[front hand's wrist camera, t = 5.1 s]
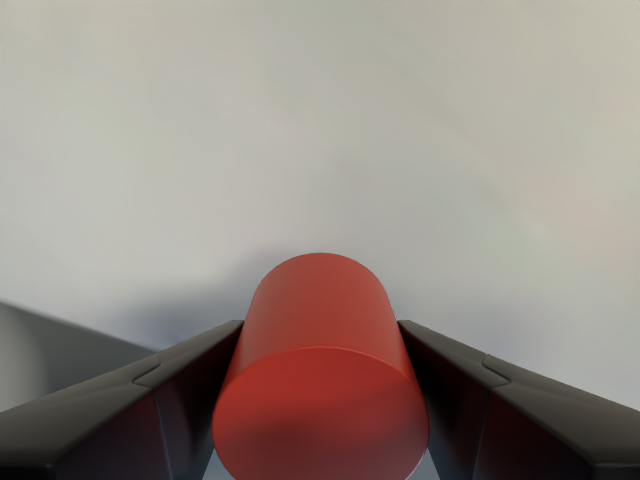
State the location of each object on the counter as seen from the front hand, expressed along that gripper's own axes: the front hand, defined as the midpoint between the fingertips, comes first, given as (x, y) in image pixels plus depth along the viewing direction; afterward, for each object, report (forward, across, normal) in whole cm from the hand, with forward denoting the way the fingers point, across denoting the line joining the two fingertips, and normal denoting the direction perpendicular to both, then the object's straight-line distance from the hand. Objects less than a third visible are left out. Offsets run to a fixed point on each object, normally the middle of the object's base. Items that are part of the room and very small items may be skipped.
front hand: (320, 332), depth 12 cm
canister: (+1, 0, 0) cm, 1 cm away
